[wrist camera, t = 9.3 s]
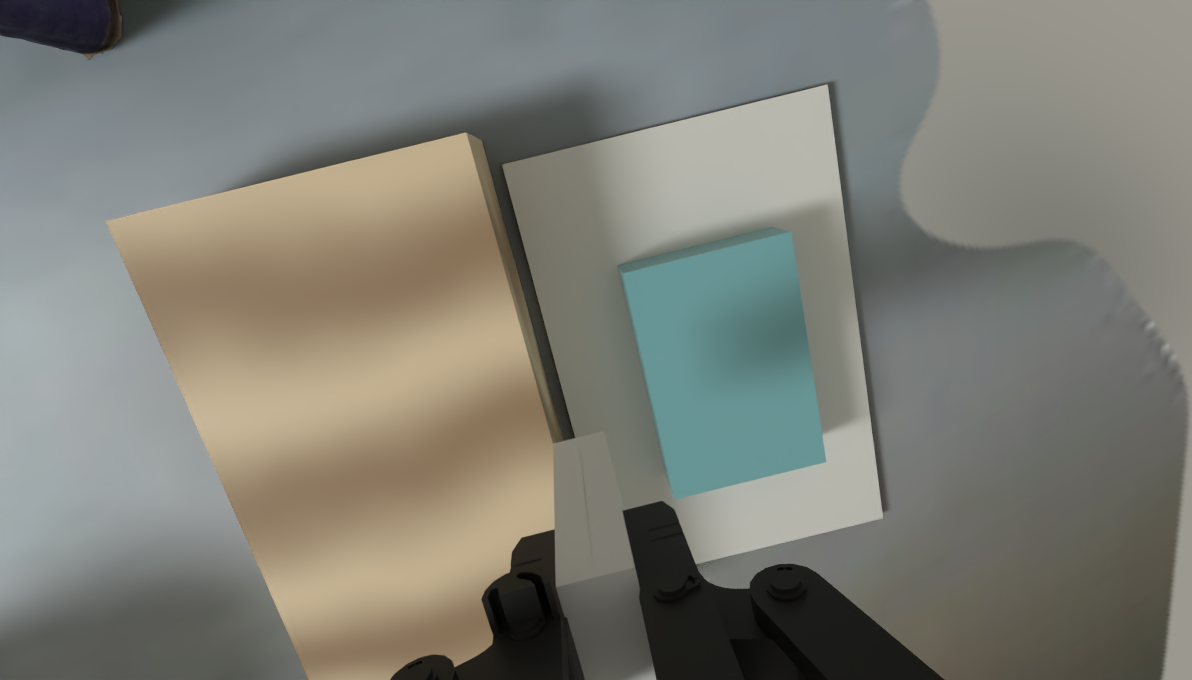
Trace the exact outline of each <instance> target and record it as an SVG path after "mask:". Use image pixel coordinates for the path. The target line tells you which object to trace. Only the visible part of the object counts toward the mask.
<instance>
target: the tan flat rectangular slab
mask: <svg viewBox="0 0 1192 680" xmlns="http://www.w3.org/2000/svg"><path fill="white" fill-rule="evenodd" d="M106 223H107V225H108V227H109V229H110V232H111V234H112V236H113V239H114V241H115V243H116V245H117V248H118V250H119V252H120V254H121V257H122V259H123V261H124V263H125V266H126V268H127V270H128V272H129V275H130V277H131V279H132V281H133V284H134V286H135V288H136V291H137V293H138V295H139V297H140V300H141V302H142V304H143V306H144V309H145V311H146V313H147V315H148V318H149V320H150V322H151V324H152V327H153V329H154V331H155V333H156V336H157V338H158V340H159V343H160V345H161V347H162V349H163V352H164V354H165V356H166V358H167V361H168V363H169V365H170V367H171V370H172V372H173V374H174V376H175V379H176V381H177V383H178V385H179V388H180V390H181V392H182V395H183V397H184V399H185V401H186V404H187V406H188V408H189V410H190V413H191V415H192V417H193V419H194V422H195V424H196V426H197V428H198V431H199V433H200V435H201V437H202V440H203V442H204V444H205V447H206V449H207V451H208V453H209V456H210V458H211V460H212V462H213V465H214V467H215V469H216V471H217V474H218V476H219V478H220V480H221V483H222V485H223V487H224V489H225V492H226V494H227V496H228V499H229V501H230V503H231V505H232V508H233V510H234V512H235V514H236V517H237V519H238V521H239V523H240V526H241V528H242V530H243V532H244V535H245V537H246V539H247V541H248V544H249V546H250V548H251V551H252V553H253V555H254V557H255V560H256V562H257V564H258V566H259V569H260V571H261V573H262V575H263V578H264V580H265V582H266V584H267V587H268V589H269V591H270V593H271V596H272V598H273V600H274V603H275V605H276V607H277V609H278V612H279V614H280V616H281V618H282V621H283V623H284V625H285V627H286V630H287V632H288V634H289V636H290V639H291V641H292V643H293V645H294V648H295V650H296V652H297V654H298V657H299V659H300V661H301V664H302V666H303V668H304V670H305V673H306V675H307V677H308V679H309V680H390V679H391V678H392V676H393V675H394V674H395V673H396V672H397V671H399V670H400V669H401V668H402V667H404V666H405V665H406V664H408V663H410V662H412V661H414V660H416V659H418V658H420V657H424V656H428V655H433V654H435V655H445V656H446V657H448V658H449V659H451V660H452V661H453V664H454V667H456V666H458V665H460V664H462V663H464V662H466V661H468V660H470V659H472V658H474V657H475V656H477V655H479V654H480V653H482V652H484V651H485V650H486V649H487V648H488V647H490V646H491V645H492V642H493V634H492V631H491V628H490V625H489V622H488V619H487V615H486V612H485V609H484V606H483V603H482V600H481V599H482V596H483V594H484V592H485V590H486V589H487V588H488V587H489V586H490V585H491V583H492V582H493V581H495V580H496V579H498V578H500V577H501V576H503V575H504V574H507V573H509V572H510V569H511V556H512V551H513V550H514V548H515V547H516V545H517V544H518V542H519V541H520V539H521V538H522V537H526V536H530V535H534V534H538V533H542V532H546V531H550V530H554V529H555V519H554V464H553V444H554V443H558V442H562V441H564V440H563V436H562V432H561V429H560V425H559V421H558V418H557V414H556V410H555V407H554V403H553V400H552V396H551V392H550V389H549V385H548V381H547V378H546V374H545V370H544V367H543V363H542V359H541V356H540V352H539V348H538V345H537V341H536V337H535V334H534V330H533V326H532V323H531V319H530V315H529V312H528V308H527V304H526V301H525V297H524V293H523V290H522V286H521V282H520V279H519V275H518V271H517V268H516V264H515V260H514V257H513V253H512V249H511V246H510V242H509V238H508V235H507V231H506V227H505V224H504V220H503V216H502V213H501V209H500V205H499V202H498V198H497V194H496V191H495V187H494V183H493V180H492V176H491V172H490V169H489V165H488V161H487V158H486V154H485V150H484V147H483V143H482V140H481V139H479V138H477V137H475V136H473V135H470V134H468V133H462V134H458V135H454V136H450V137H446V138H442V139H438V140H434V141H430V142H425V143H421V144H417V145H413V146H409V147H405V148H401V149H397V150H393V151H389V152H385V153H381V154H377V155H373V156H369V157H365V158H360V159H356V160H352V161H348V162H344V163H340V164H336V165H332V166H328V167H324V168H320V169H316V170H312V171H308V172H304V173H300V174H296V175H291V176H287V177H283V178H279V179H275V180H271V181H267V182H263V183H259V184H255V185H251V186H247V187H243V188H239V189H235V190H231V191H226V192H222V193H218V194H214V195H210V196H206V197H202V198H198V199H194V200H190V201H186V202H182V203H178V204H174V205H170V206H166V207H162V208H157V209H153V210H149V211H145V212H141V213H137V214H133V215H129V216H125V217H121V218H117V219H113V220H109V221H106Z"/></svg>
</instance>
